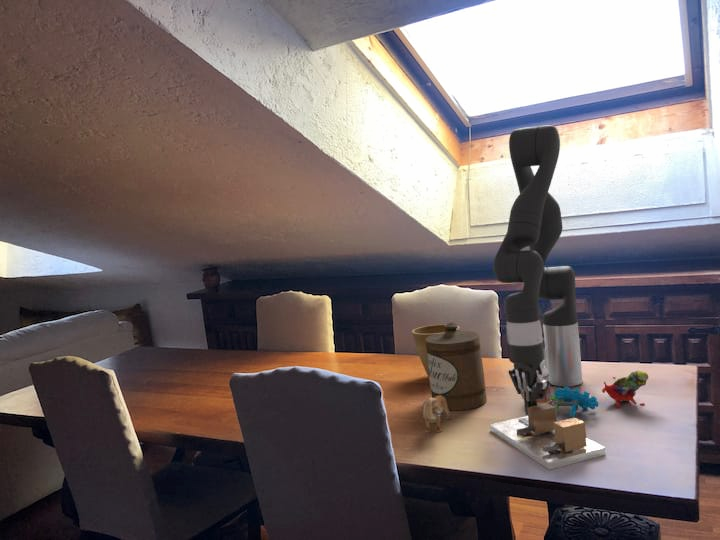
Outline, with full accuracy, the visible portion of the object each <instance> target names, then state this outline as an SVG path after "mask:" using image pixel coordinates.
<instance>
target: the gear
mask: <svg viewBox="0 0 720 540" xmlns="http://www.w3.org/2000/svg"><path fill="white" fill-rule="evenodd" d="M590 394H591V393H590V392H587V391H584V392H583V394H582V393H581V392H580V389H579V388H577V387H575V388H574V387H573V389H571V388H570V386H568V387H563V388H562V387H560V386H557V388H556V390H554V391H553V393H552V394H551V401H553V405H554V407H556V415H557V414H558V410H559V407H570V412H569V416H568V417H569V419H570V418H575V414H576V410H577V409H578V408H579V407H580V408H581V409H582V410H585V411H587V410H589V409H590V410H595V409H596V408H597V407H599V401H597V400H598V398H597V397H595V396H593V395H592V396H590Z"/></svg>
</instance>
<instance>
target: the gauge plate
mask: <svg viewBox="0 0 720 540" xmlns="http://www.w3.org/2000/svg"><path fill="white" fill-rule="evenodd" d="M526 427H529V421H528V416H527V415H525V416H520V417H516V418H511V419H508V420H503V421H500V422H498V421H497V422H496V423H491V424H489V430H490V432H492V433H493V434H494V435H496V436H498V437H499V438H500V439H502V440H504V441H505V442H507V443H508V444H510V445H511V446H513V447H514V448H515V449H517V450H519V451H521V452H522V454H524V455H526V456H527V457H528V458H531V459H532V460H534V461H535V462H537V463H538V464H540V465H541V466H543V467H544V468H546V469H547V470H549V471H551V470H553V469H554V470H555V469H558V468H562V467H565V466H569V465H573V464H576V463H580V462H583V461H587V460H591V459H595V458H598V457H601V456H605V455H606V447H605V446H603V445H601V444H599V443H597V442H595V441H593V440H591V439H589V438H587V433H586V423H585V421H583V420H581V419H579V418H577V417H574V418H570V417H569V418H567V419H563V420H558V421H557V422H554V430H553V431H549V432H545V433H541V434H536V433H534V432H528V433H524V434H520V435H519V434H517V430H518V429H522V428H526Z"/></svg>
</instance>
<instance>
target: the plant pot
mask: <svg viewBox="0 0 720 540" xmlns="http://www.w3.org/2000/svg"><path fill="white" fill-rule="evenodd" d="M445 325H446V324H433V325H425V326H421V327H416V328H415V329H412V337H413V340H414V344H415V347H416V350H417V353H418V356H419V359H420V361H421V364H422V366H423V368H424V371H425V372H426V375H427V377H428V378H429V366H428V356H427V348H426V338H427V337H429V336H431V335H435V334H439V333H445V332H446V329H445ZM456 330H457V331H460V326H459V325H457V329H456ZM429 380H430V378H429Z"/></svg>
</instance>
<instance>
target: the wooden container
mask: <svg viewBox="0 0 720 540" xmlns="http://www.w3.org/2000/svg"><path fill="white" fill-rule="evenodd" d="M444 325H445V329H446V332H445V333H439V334H435V335H431V336H429V337H427V338H426V348H427V356H428V366H429V377H428V378H430V379H429V385H430V387H429V388H430V394H431V398H434V397H435V396H438V395H441V396H443V397H444V398H445V399H446V402H447V407H448V409H449V411H465V410H467V411H468V410H472V409H476V408H478V407H481V406H482V405H484V404H485V403H486V402H487V389H486V381H485V380H486V379H485V372H484V371H485V370H484V364H483V355H482V350H481V339H480V334H479V333H477V332H474V331H468V330H467V331H466V330H463V331H462V330H461V331H460V330H459V331H457V330H456V329H457V326H458V325H457V323H454V322H452V321H451V322H450V321H449V322H447V324H444ZM442 409H443V408H442Z"/></svg>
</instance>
